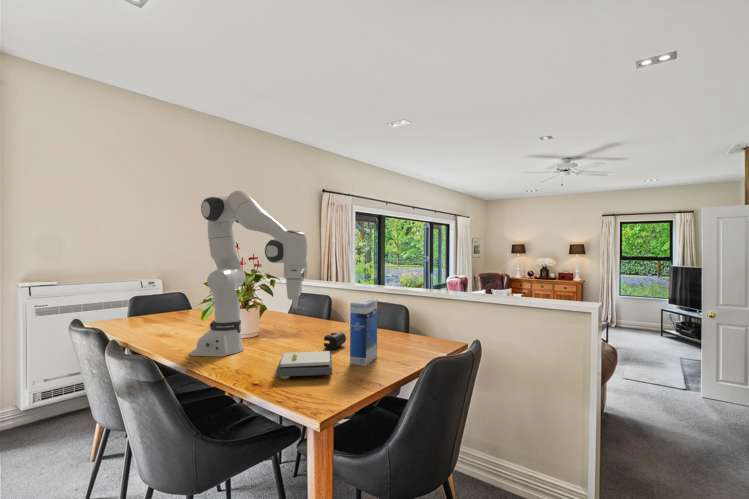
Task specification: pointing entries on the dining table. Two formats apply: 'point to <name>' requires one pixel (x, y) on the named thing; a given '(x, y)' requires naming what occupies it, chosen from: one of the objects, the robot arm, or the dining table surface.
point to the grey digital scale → (303, 370)
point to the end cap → (334, 340)
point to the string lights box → (363, 331)
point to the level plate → (305, 359)
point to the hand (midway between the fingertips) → (295, 307)
